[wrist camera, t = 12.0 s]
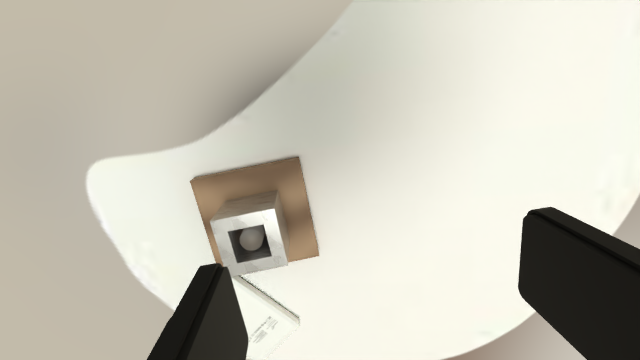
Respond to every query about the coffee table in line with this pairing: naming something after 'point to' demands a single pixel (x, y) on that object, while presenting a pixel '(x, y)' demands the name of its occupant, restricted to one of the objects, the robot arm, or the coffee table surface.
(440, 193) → the coffee table surface
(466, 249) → the coffee table surface
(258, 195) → the grey hollow cube
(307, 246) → the shaft block
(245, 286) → the external hard drive
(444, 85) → the coffee table surface
